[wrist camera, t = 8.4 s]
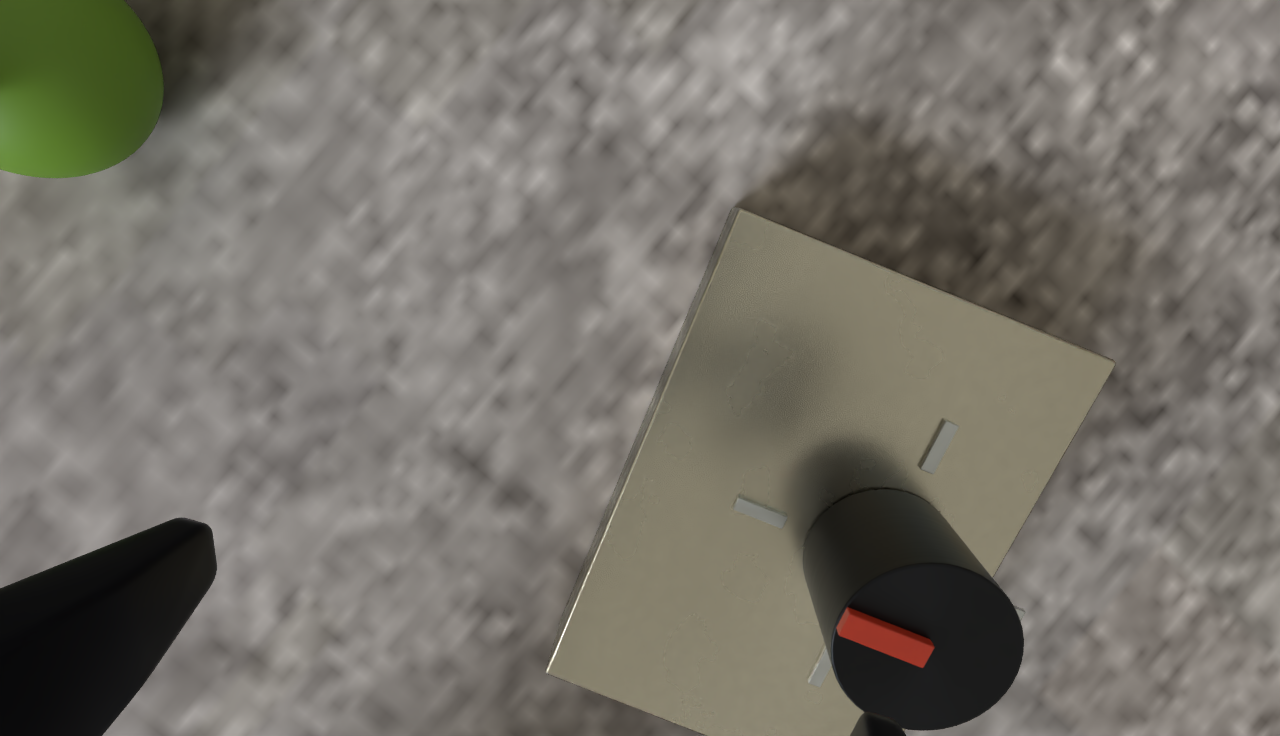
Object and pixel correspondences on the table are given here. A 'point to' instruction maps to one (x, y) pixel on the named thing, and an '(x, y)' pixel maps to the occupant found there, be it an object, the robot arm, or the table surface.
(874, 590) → the knob
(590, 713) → the table surface
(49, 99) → the snail figurine
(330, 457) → the table surface
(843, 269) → the silver flat block
